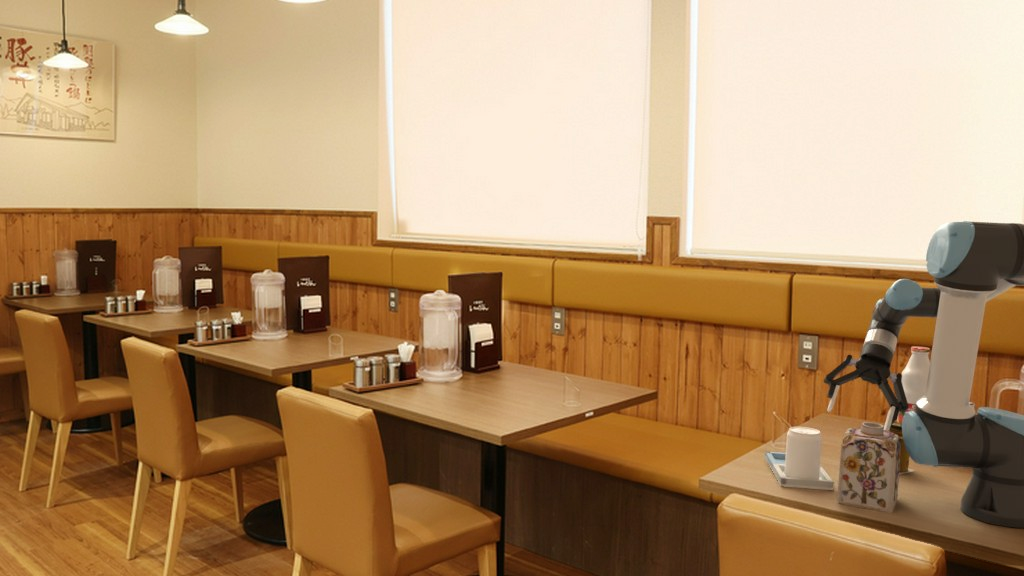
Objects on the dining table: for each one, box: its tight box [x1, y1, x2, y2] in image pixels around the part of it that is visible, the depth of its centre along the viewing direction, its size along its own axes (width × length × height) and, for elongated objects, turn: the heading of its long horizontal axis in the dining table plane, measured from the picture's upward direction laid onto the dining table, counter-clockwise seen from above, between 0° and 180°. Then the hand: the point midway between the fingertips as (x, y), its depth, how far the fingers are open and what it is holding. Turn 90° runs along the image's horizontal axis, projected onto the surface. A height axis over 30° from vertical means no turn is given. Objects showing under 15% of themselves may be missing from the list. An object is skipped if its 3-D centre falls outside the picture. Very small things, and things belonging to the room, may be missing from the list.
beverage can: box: [785, 426, 823, 479], centre depth 202 cm, size 8×8×12 cm
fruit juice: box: [896, 345, 931, 423], centre depth 242 cm, size 9×9×28 cm
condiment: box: [889, 421, 916, 476], centre depth 215 cm, size 7×8×12 cm
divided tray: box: [764, 451, 834, 491], centre depth 209 cm, size 23×12×2 cm, turn 172°
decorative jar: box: [836, 421, 901, 514], centre depth 189 cm, size 12×12×18 cm
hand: (857, 420), depth 203 cm, fingers open, 13 cm apart
